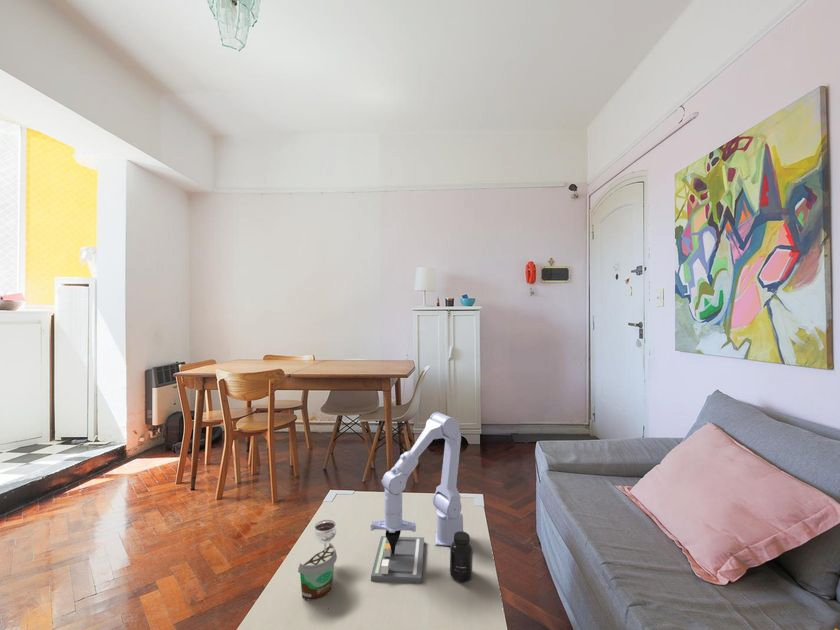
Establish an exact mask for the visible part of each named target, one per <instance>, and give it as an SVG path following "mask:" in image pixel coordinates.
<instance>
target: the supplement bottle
mask: <svg viewBox="0 0 840 630" xmlns="http://www.w3.org/2000/svg"><path fill="white" fill-rule="evenodd" d="M470 539H471V538H470V534H469V533H467V532H466V531H464V532H462V531H459V532H456V533H455V534H454V542H452V544H451V546H450V549H449V552H450V554H449V558H450V559H449V574H450V577H451V578H452V579H453V580H454V581H456V582H458V583H466V582H469V581H470V580H471V579H472V577H473V561H474V560H473V559H474V555H473V554H474V549H473V545H472V544H471V540H470Z"/></svg>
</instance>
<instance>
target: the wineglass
mask: <svg viewBox="0 0 840 630" xmlns="http://www.w3.org/2000/svg"><path fill="white" fill-rule="evenodd" d="M336 524H337V523H336V521H334V520H332V519H324V520H319V521H317V522H316V523H315V525H314V527H313V528H314V532H313V535H314V539H315V540H316V542H318V543H319V544H323V550H325V549H326V548H327V544H329V543H331V541H332V540H333V539H334V538H335V536H336V534H337V528H336Z"/></svg>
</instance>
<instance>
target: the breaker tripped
mask: <svg viewBox="0 0 840 630" xmlns="http://www.w3.org/2000/svg"><path fill="white" fill-rule="evenodd" d="M390 556H391V547H390V544H389V543H386V544H385V548H384V557H390Z"/></svg>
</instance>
